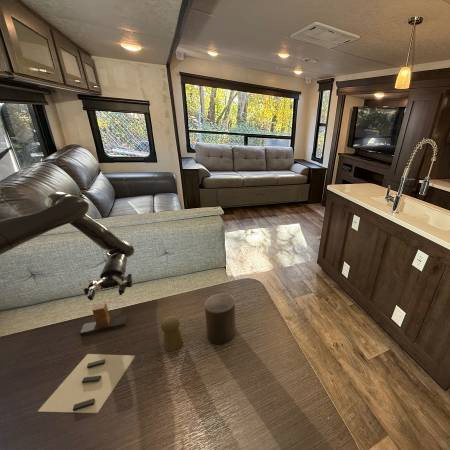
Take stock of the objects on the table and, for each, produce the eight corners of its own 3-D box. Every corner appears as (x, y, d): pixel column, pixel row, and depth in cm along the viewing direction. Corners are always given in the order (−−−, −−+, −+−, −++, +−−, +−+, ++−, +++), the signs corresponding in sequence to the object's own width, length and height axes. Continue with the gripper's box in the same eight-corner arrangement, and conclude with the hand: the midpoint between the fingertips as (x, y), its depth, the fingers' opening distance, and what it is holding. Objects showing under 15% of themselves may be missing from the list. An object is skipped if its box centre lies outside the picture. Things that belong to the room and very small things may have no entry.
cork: (161, 355, 77) (156, 329, 73) (165, 339, 82) (161, 314, 78) (182, 352, 79) (178, 326, 75) (184, 337, 84) (181, 312, 80)
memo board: (38, 414, 60) (36, 411, 59) (88, 356, 75) (87, 353, 74) (98, 415, 61) (97, 412, 60) (136, 358, 75) (135, 355, 75)
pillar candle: (220, 349, 81) (218, 314, 75) (200, 335, 85) (197, 301, 79) (241, 330, 89) (241, 297, 83) (222, 318, 93) (221, 286, 87)
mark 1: (87, 368, 70) (86, 366, 70) (88, 365, 71) (87, 363, 71) (104, 364, 72) (104, 362, 71) (105, 360, 73) (105, 358, 72)
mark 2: (82, 383, 66) (81, 381, 66) (84, 379, 67) (84, 377, 67) (99, 381, 67) (98, 379, 67) (101, 377, 68) (100, 375, 68)
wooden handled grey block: (81, 338, 80) (73, 315, 76) (85, 329, 83) (77, 306, 79) (126, 328, 85) (120, 305, 81) (127, 320, 88) (122, 298, 84)
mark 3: (73, 411, 60) (72, 409, 60) (75, 406, 61) (74, 404, 61) (94, 404, 62) (93, 402, 62) (95, 400, 63) (94, 398, 63)
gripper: (89, 266, 96) (77, 291, 83) (133, 260, 103) (127, 283, 89) (94, 282, 99) (82, 308, 86) (136, 275, 105) (131, 299, 92)
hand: (105, 295), depth 88 cm, fingers open, 8 cm apart
